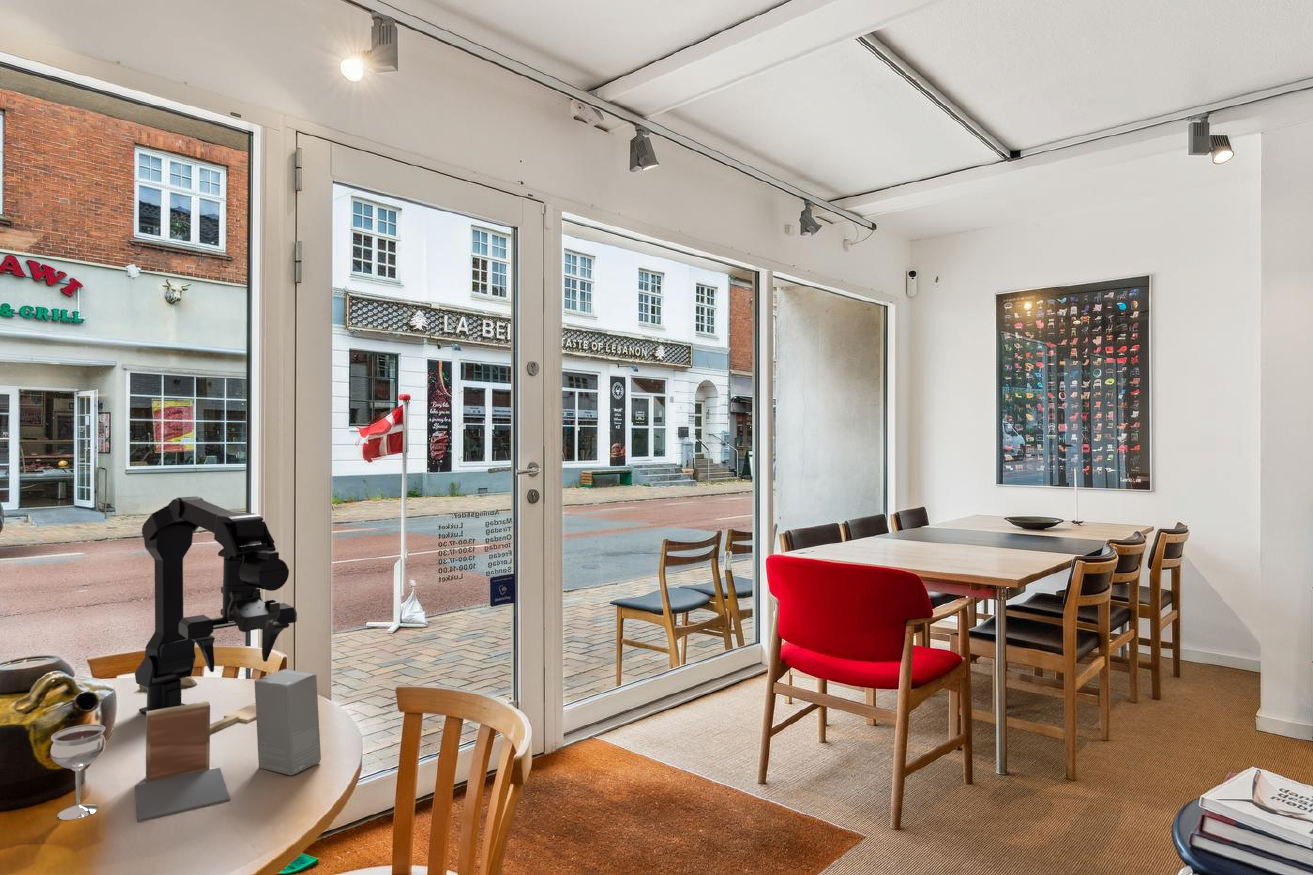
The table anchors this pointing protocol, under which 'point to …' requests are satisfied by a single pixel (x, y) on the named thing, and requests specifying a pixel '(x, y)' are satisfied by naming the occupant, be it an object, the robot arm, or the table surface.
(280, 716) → the skincare box
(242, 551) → the robot arm
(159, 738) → the oak tile
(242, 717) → the wooden spatula
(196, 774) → the felt mat
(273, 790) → the table surface
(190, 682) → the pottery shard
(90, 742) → the wineglass
